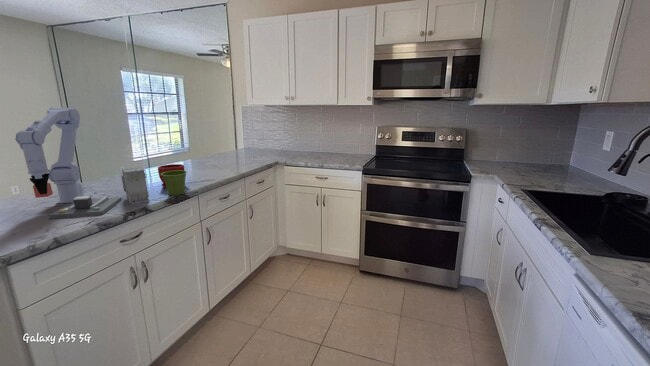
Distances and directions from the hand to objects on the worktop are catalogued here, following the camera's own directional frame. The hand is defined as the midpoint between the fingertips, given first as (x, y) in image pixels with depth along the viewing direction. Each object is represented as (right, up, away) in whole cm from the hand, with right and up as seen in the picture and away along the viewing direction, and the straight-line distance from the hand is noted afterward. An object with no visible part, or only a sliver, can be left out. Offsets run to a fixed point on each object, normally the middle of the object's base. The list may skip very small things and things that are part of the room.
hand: (43, 192), depth 120 cm
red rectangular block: (0, -1, 0) cm, 2 cm away
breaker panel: (+14, -7, +6) cm, 17 cm away
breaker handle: (+15, -6, +2) cm, 17 cm away
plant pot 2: (+32, +2, +43) cm, 53 cm away
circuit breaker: (+26, -4, +20) cm, 33 cm away
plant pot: (+41, -2, +28) cm, 50 cm away
